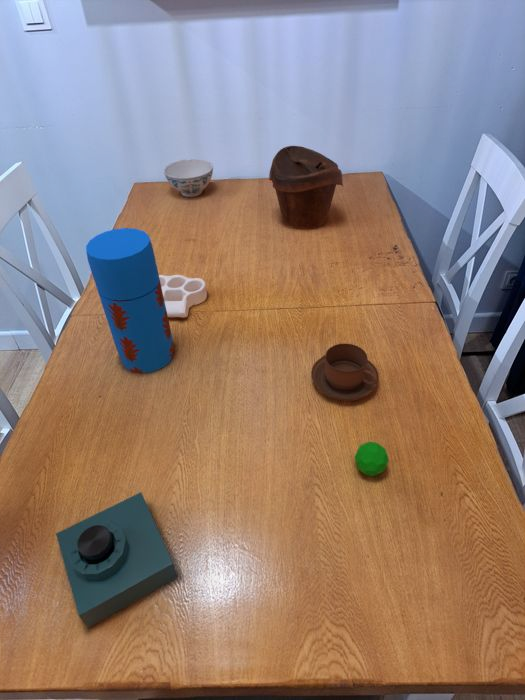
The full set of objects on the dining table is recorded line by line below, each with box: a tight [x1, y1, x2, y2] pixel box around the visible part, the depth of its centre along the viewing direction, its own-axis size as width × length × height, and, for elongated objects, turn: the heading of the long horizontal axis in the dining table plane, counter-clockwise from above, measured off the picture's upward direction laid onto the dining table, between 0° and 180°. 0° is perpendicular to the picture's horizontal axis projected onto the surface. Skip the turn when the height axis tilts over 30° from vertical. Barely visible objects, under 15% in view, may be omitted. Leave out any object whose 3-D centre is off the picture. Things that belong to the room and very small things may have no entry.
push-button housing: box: [55, 491, 179, 629], centre depth 64 cm, size 12×12×6 cm
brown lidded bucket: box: [268, 145, 344, 230], centre depth 132 cm, size 18×20×18 cm
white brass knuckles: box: [159, 274, 208, 318], centre depth 110 cm, size 3×18×15 cm
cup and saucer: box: [310, 343, 380, 402], centre depth 87 cm, size 12×12×6 cm
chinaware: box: [163, 158, 214, 198], centre depth 152 cm, size 15×15×8 cm
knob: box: [77, 525, 114, 563], centre depth 61 cm, size 4×4×2 cm
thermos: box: [85, 227, 175, 374], centre depth 89 cm, size 11×11×25 cm
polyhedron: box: [354, 441, 390, 477], centre depth 74 cm, size 5×5×5 cm
